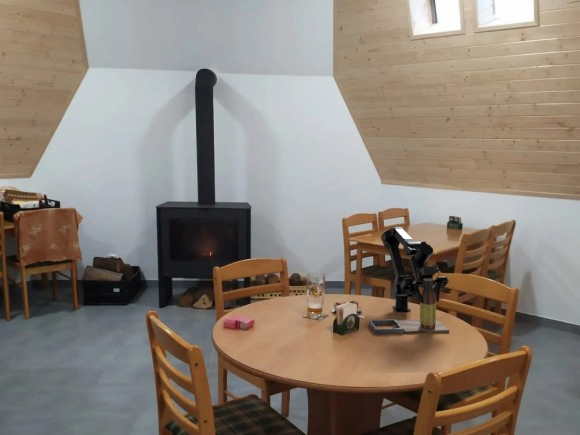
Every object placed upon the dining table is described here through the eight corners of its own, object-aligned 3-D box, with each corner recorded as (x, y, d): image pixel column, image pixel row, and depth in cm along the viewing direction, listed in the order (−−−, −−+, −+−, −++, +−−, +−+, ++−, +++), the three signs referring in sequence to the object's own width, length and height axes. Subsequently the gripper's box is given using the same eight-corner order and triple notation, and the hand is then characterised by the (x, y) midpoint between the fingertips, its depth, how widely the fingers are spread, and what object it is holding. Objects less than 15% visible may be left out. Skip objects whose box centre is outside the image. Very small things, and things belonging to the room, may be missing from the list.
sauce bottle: (428, 323, 210) (429, 276, 207) (439, 327, 204) (440, 279, 201) (415, 325, 206) (417, 278, 204) (426, 330, 201) (428, 281, 198)
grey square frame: (368, 324, 210) (368, 319, 210) (395, 323, 211) (395, 319, 211) (375, 334, 199) (375, 329, 199) (403, 333, 200) (403, 328, 200)
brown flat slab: (395, 322, 213) (395, 320, 213) (436, 321, 215) (437, 319, 215) (405, 333, 200) (405, 331, 200) (449, 332, 202) (449, 330, 202)
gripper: (404, 258, 204) (414, 293, 194) (447, 257, 207) (459, 291, 198) (396, 272, 212) (405, 306, 203) (437, 271, 216) (449, 304, 206)
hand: (430, 301), depth 202 cm, fingers open, 7 cm apart
